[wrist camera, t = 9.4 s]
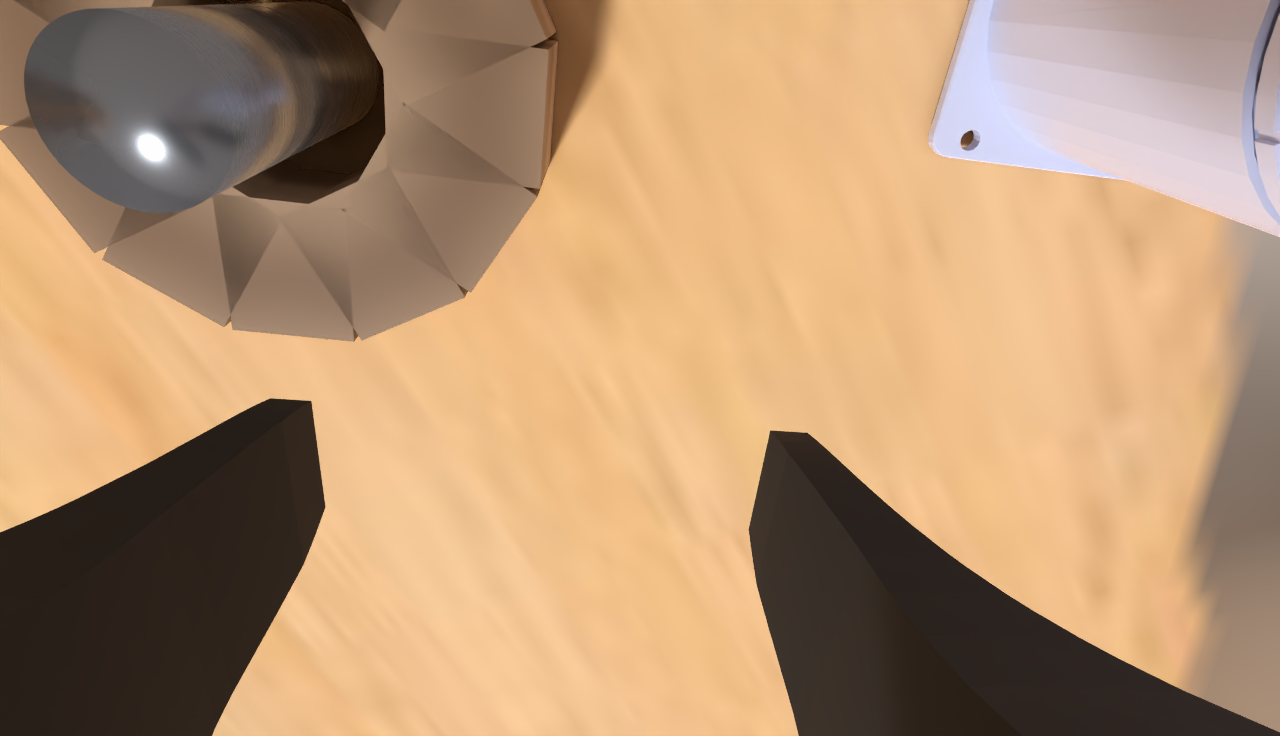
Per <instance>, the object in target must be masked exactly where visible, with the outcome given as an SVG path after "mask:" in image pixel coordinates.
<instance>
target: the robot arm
mask: <svg viewBox="0 0 1280 736" xmlns="http://www.w3.org/2000/svg"><path fill="white" fill-rule="evenodd" d="M971 130H972V131H973V133H974V137H973V140H972V142H971V144H970V145H968V146H967V147H964V148H962V147H961V145H960V142H961V138H962V136H963V135H964V134H965V133H966V132H968V131H971ZM928 142H929V145H930V148H931V149H932V150H933V151H934V152H935V153H937V154H939V155H941V156H944V157H949V158H957V159H964V160H972V161H980V162H988V163H995V164H1003V165H1011V166H1019V167H1027V168H1034V169H1042V170H1050V171H1058V172H1065V173H1073V174H1081V175H1089V176H1096V177H1104V178H1112V179H1120V180H1127V181H1130V182H1133V183H1135V184H1138V185H1141V186H1143V187H1146V188H1149V189H1151V190H1154V191H1157V192H1159V193H1162V194H1165V195H1168V196H1170V197H1173V198H1176V199H1178V200H1181V201H1184V202H1186V203H1189V204H1192V205H1194V206H1197V207H1200V208H1203V209H1205V210H1208V211H1211V212H1213V213H1216V214H1219V215H1221V216H1224V217H1227V218H1230V219H1232V220H1235V221H1238V222H1240V223H1243V224H1246V225H1248V226H1251V227H1254V228H1256V229H1259V230H1262V231H1265V232H1267V233H1270V234H1273V235H1275V236H1278V237H1280V0H970V1H969V4H968V8H967V11H966V14H965V17H964V21H963V24H962V27H961V31H960V34H959V37H958V40H957V44H956V47H955V50H954V54H953V57H952V60H951V63H950V67H949V70H948V73H947V76H946V80H945V83H944V86H943V90H942V93H941V96H940V99H939V103H938V106H937V109H936V112H935V116H934V119H933V122H932V126H931V129H930V132H929V138H928ZM324 509H325V501H324V494H323V486H322V478H321V471H320V463H319V456H318V448H317V441H316V433H315V426H314V418H313V411H312V403H311V401H301V400H286V399H268V400H266V401H264V402H261V403H259V404H257V405H255V406H253V407H251V408H249V409H247V410H245V411H243V412H241V413H239V414H238V415H236V416H234V417H232V418H230V419H228V420H227V421H225V422H223V423H221V424H219V425H217V426H216V427H214V428H212V429H210V430H208V431H207V432H205V433H203V434H201V435H199V436H197V437H196V438H194V439H192V440H190V441H188V442H186V443H185V444H183V445H181V446H179V447H177V448H175V449H174V450H172V451H170V452H168V453H166V454H164V455H163V456H161V457H159V458H157V459H155V460H153V461H152V462H150V463H148V464H146V465H144V466H142V467H140V468H138V469H136V470H134V471H132V472H130V473H128V474H126V475H124V476H122V477H120V478H118V479H116V480H114V481H112V482H110V483H108V484H106V485H104V486H102V487H100V488H98V489H96V490H94V491H92V492H90V493H88V494H86V495H84V496H82V497H80V498H78V499H76V500H74V501H72V502H69V503H67V504H65V505H63V506H61V507H59V508H57V509H54V510H52V511H50V512H48V513H45V514H43V515H41V516H38V517H36V518H34V519H32V520H29V521H27V522H25V523H22V524H20V525H17V526H15V527H13V528H10V529H8V530H5V531H3V532H0V736H212V734H213V732H214V729H215V727H216V725H217V723H218V721H219V719H220V717H221V715H222V713H223V711H224V709H225V707H226V705H227V703H228V701H229V699H230V697H231V695H232V693H233V691H234V689H235V688H236V686H237V684H238V682H239V680H240V679H241V677H242V675H243V673H244V671H245V670H246V668H247V666H248V664H249V663H250V661H251V659H252V657H253V655H254V654H255V652H256V650H257V648H258V646H259V645H260V643H261V641H262V639H263V637H264V636H265V634H266V632H267V630H268V628H269V627H270V625H271V623H272V621H273V619H274V618H275V616H276V614H277V612H278V610H279V609H280V607H281V605H282V603H283V601H284V600H285V598H286V596H287V594H288V592H289V590H290V589H291V587H292V585H293V583H294V581H295V579H296V578H297V576H298V574H299V572H300V570H301V568H302V566H303V564H304V562H305V559H306V557H307V554H308V552H309V549H310V547H311V544H312V542H313V539H314V537H315V534H316V531H317V529H318V526H319V523H320V520H321V518H322V515H323V512H324ZM749 534H750V542H751V549H752V557H753V563H754V570H755V576H756V582H757V587H758V591H759V594H760V598H761V602H762V605H763V609H764V612H765V616H766V620H767V623H768V627H769V630H770V634H771V637H772V640H773V644H774V647H775V651H776V654H777V658H778V661H779V665H780V668H781V672H782V675H783V678H784V682H785V685H786V689H787V692H788V696H789V699H790V703H791V706H792V710H793V713H794V717H795V722H796V726H797V730H798V734H799V736H1280V732H1277V731H1275V730H1273V729H1270V728H1268V727H1266V726H1264V725H1261V724H1259V723H1257V722H1254V721H1252V720H1250V719H1247V718H1245V717H1243V716H1241V715H1238V714H1236V713H1234V712H1231V711H1229V710H1227V709H1224V708H1222V707H1220V706H1217V705H1215V704H1213V703H1210V702H1208V701H1206V700H1204V699H1201V698H1199V697H1197V696H1194V695H1192V694H1190V693H1187V692H1185V691H1183V690H1181V689H1179V688H1177V687H1175V686H1173V685H1170V684H1168V683H1166V682H1164V681H1162V680H1160V679H1158V678H1156V677H1154V676H1152V675H1150V674H1148V673H1146V672H1144V671H1142V670H1140V669H1138V668H1136V667H1134V666H1132V665H1130V664H1128V663H1126V662H1124V661H1122V660H1120V659H1118V658H1116V657H1114V656H1112V655H1111V654H1109V653H1107V652H1105V651H1103V650H1101V649H1099V648H1097V647H1096V646H1094V645H1092V644H1090V643H1088V642H1086V641H1084V640H1083V639H1081V638H1079V637H1077V636H1075V635H1074V634H1072V633H1070V632H1069V631H1067V630H1065V629H1063V628H1062V627H1060V626H1058V625H1057V624H1055V623H1053V622H1051V621H1050V620H1048V619H1046V618H1044V617H1043V616H1041V615H1039V614H1038V613H1036V612H1034V611H1032V610H1031V609H1029V608H1028V607H1026V606H1024V605H1023V604H1021V603H1020V602H1018V601H1016V600H1015V599H1013V598H1012V597H1010V596H1008V595H1007V594H1005V593H1004V592H1002V591H1001V590H999V589H998V588H996V587H995V586H994V585H992V584H991V583H989V582H988V581H986V580H985V579H983V578H982V577H980V576H979V575H977V574H976V573H974V572H973V571H972V570H970V569H969V568H967V567H966V566H964V565H963V564H961V563H960V562H959V561H957V560H956V559H955V558H953V557H952V556H951V555H949V554H948V553H947V552H945V551H944V550H943V549H941V548H940V547H939V546H938V545H936V544H935V543H934V542H932V541H931V540H930V539H929V538H927V537H926V536H925V535H924V534H922V533H921V532H920V531H919V530H917V529H916V528H915V527H913V526H912V525H911V524H910V523H909V522H907V521H906V520H905V519H904V518H903V517H901V516H900V515H899V514H898V513H897V512H896V511H894V510H893V509H892V508H891V507H890V506H889V505H887V504H886V503H885V502H884V501H883V500H882V499H881V498H879V497H878V496H877V495H876V494H875V493H874V492H873V491H872V490H870V489H869V488H868V487H867V486H866V485H865V484H864V483H863V482H862V481H861V480H859V479H858V478H857V477H856V476H855V475H854V474H853V473H852V472H851V471H850V470H849V469H847V468H846V467H845V466H844V465H843V464H842V463H841V462H840V461H839V460H838V459H837V458H836V457H834V456H833V455H832V454H831V453H830V452H829V451H828V450H827V449H826V448H825V447H823V446H822V445H821V444H820V443H819V442H818V441H817V440H815V439H814V438H813V437H812V436H811V435H809V434H808V433H800V432H784V431H770V435H769V439H768V444H767V449H766V453H765V458H764V462H763V467H762V471H761V476H760V481H759V485H758V490H757V494H756V499H755V504H754V508H753V513H752V517H751V522H750V526H749Z"/></svg>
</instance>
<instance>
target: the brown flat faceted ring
mask: <svg viewBox="0 0 1280 736" xmlns="http://www.w3.org/2000/svg"><path fill="white" fill-rule="evenodd" d="M223 1H224V0H0V125H7V126H9V127H7V128H5V129H3V130H1V131H0V139H1V141H2V142H3V143H4V144H5V145H6V147H7V148H8V149H9V150H10V151H11V153H12V154H13V155H14V156H15V157H16V159H17V160H18V161H19V162H20V164H21V165H22V166H23V167H24V168H25V170H26V171H27V172H28V173H29V174H30V176H31V177H32V178H33V179H34V180H35V182H36V183H37V184H38V185H39V187H40V188H41V189H42V190H43V191H44V193H45V194H46V195H47V196H48V197H49V199H50V200H51V201H52V202H53V204H54V205H55V206H56V207H57V208H58V210H59V211H60V212H61V213H62V214H63V216H64V217H65V218H66V219H67V220H68V222H69V223H70V224H71V225H72V227H73V228H74V229H75V230H76V231H77V233H78V234H79V235H80V236H81V237H82V239H83V240H84V241H85V242H86V243H87V245H88V246H89V247H90V248H91V250H92V251H93V252H94V253H96V252H98V251H100V250H102V249H104V248H106V247H108V248H107V250H106V252H105V255H104V257H103V259H102V260H104V261H106V262H108V263H109V264H111V265H113V266H115V267H117V268H118V269H120V270H122V271H124V272H126V273H127V274H129V275H131V276H133V277H135V278H136V279H138V280H140V281H142V282H144V283H145V284H147V285H149V286H151V287H153V288H154V289H156V290H158V291H160V292H162V293H163V294H165V295H167V296H169V297H171V298H173V299H174V300H176V301H178V302H180V303H182V304H183V305H185V306H187V307H189V308H191V309H192V310H194V311H196V312H198V313H200V314H201V315H203V316H205V317H207V318H209V319H210V320H212V321H214V322H216V323H218V324H219V325H221V326H223V327H225V326H226V325H227V324H228V323H229V322H230V321H231V323H232V329H233V330H240V331H250V332H261V333H271V334H281V335H292V336H302V337H312V338H322V339H333V340H343V341H353V342H354V341H355V339H356V338H357V337H358V336H359V337H360V339H361V340H364V339H367V338H369V337H371V336H374V335H376V334H378V333H381V332H383V331H386V330H388V329H390V328H393V327H395V326H398V325H400V324H402V323H405V322H407V321H409V320H412V319H414V318H417V317H419V316H421V315H424V314H426V313H429V312H431V311H433V310H436V309H438V308H440V307H443V306H445V305H448V304H450V303H452V302H455V301H457V300H460V299H462V298H464V297H465V296H466V294H467V292H468V291H469V292H472V290H473V289H474V287H475V286H476V284H477V283H478V281H479V280H480V279H481V277H482V276H483V274H484V273H485V271H486V270H487V269H488V267H489V266H490V264H491V263H492V261H493V260H494V258H495V257H496V256H497V254H498V253H499V251H500V250H501V248H502V247H503V245H504V244H505V243H506V241H507V240H508V238H509V237H510V235H511V234H512V233H513V231H514V230H515V228H516V227H517V225H518V224H519V222H520V221H521V220H522V218H523V217H524V215H525V214H526V212H527V211H528V210H529V208H530V207H531V205H532V204H533V202H534V201H535V199H536V198H537V196H538V193H539V191H540V188H541V185H542V183H543V180H544V177H545V174H546V172H547V168H548V166H549V163H550V155H551V141H552V126H553V111H554V96H555V81H556V67H557V52H558V41H556V40H549V39H548V38H549V37H550V36H552V35H553V34H554V33H556V32H557V31H556V29H555V27H554V24H553V22H552V20H551V17H550V15H549V13H548V10H547V8H546V6H545V3H544V1H543V0H342V1H343V2H345V3H346V4H347V5H348V6H349V8H350V9H351V11H352V13H353V15H354V17H355V19H356V20H357V22H358V24H359V26H360V28H361V30H362V31H363V33H364V35H365V37H366V39H367V40H368V42H369V44H370V46H371V48H372V50H373V51H374V53H375V55H376V57H377V59H378V61H379V62H380V64H381V66H382V68H383V74H384V101H385V128H386V134H385V135H384V137H383V139H382V141H381V142H380V144H379V146H378V148H377V149H376V151H375V153H374V155H373V156H372V158H371V160H370V161H369V163H368V165H367V167H366V168H364V169H362V170H360V171H357V172H355V173H353V174H351V175H349V174H340V173H332V172H323V171H315V170H306V169H299V168H298V167H296V166H294V165H293V164H291V163H290V162H288V161H287V160H283V161H281V162H279V163H277V164H276V165H274V166H272V167H270V168H268V169H266V170H264V171H262V172H260V173H258V174H256V175H254V176H252V177H250V178H248V179H247V180H245V181H243V182H241V183H239V184H237V185H235V186H233V187H231V188H229V189H227V190H225V191H223V192H221V193H220V194H218V195H216V196H214V197H212V198H210V199H208V200H206V201H204V202H202V203H200V204H198V205H196V206H194V207H192V208H189V209H186V210H183V211H178V212H171V213H151V212H143V211H138V210H133V209H130V208H127V207H124V206H121V205H118V204H116V203H113V202H111V201H109V200H107V199H105V198H103V197H101V196H100V195H98V194H96V193H94V192H93V191H91V190H90V189H88V188H87V187H85V186H84V185H83V184H81V183H80V182H79V181H78V180H76V179H75V178H74V177H73V176H72V175H71V174H69V173H68V171H67V170H66V169H65V168H64V167H63V166H62V165H61V164H60V163H59V162H58V161H57V160H56V158H55V157H54V156H53V155H52V154H51V152H50V151H49V149H48V148H47V146H46V145H45V143H44V142H43V140H42V139H41V137H40V135H39V133H38V131H37V129H36V127H35V125H34V123H33V120H32V118H31V115H30V113H29V109H28V105H27V102H26V97H25V89H24V70H25V63H26V59H27V56H28V53H29V50H30V47H31V46H32V44H33V42H34V40H35V38H36V37H37V36H38V34H39V33H40V32H41V31H42V30H43V28H45V27H46V26H47V25H48V24H49V23H51V22H52V21H53V20H55V19H57V18H59V17H60V16H62V15H65V14H68V13H70V12H73V11H78V10H83V9H94V8H125V7H156V6H186V5H217V4H222V3H223Z"/></svg>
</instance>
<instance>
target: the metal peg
mask: <svg viewBox="0 0 1280 736" xmlns="http://www.w3.org/2000/svg"><path fill="white" fill-rule="evenodd" d="M378 88H379V69H378V63H377V59H376V56H375V53H374V51H373V50H372V48H371V46H370V44H369V42H368V40H367V39H366V37H365V35H364V33H363V32H362V31H361V29H360V28H359V27H358V26H357V25H356V24H355V23H354V22H353V21H352V20H351V19H350V18H348V17H347V16H346V15H344V14H343V13H341V12H340V11H338V10H336V9H334V8H332V7H329V6H327V5H324V4H320V3H316V2H279V3H248V4H217V5H186V6H156V7H125V8H94V9H83V10H78V11H73V12H70V13H68V14H65V15H62V16H60V17H59V18H57V19H55V20H53V21H52V22H51V23H49V24H48V25H47V26H46V27H45V28H43V30H42V31H41V32H40V33H39V34H38V36H37V37H36V38H35V40H34V42H33V44H32V46H31V47H30V50H29V53H28V56H27V59H26V63H25V70H24V89H25V97H26V102H27V105H28V109H29V113H30V115H31V118H32V120H33V123H34V125H35V127H36V129H37V131H38V133H39V135H40V137H41V139H42V140H43V142H44V143H45V145H46V146H47V148H48V149H49V151H50V152H51V154H52V155H53V156H54V157H55V158H56V160H57V161H58V162H59V163H60V164H61V165H62V166H63V167H64V168H65V169H66V170H67V171H68V173H69V174H71V175H72V176H73V177H74V178H75V179H76V180H78V181H79V182H80V183H81V184H83V185H84V186H85V187H87V188H88V189H90V190H91V191H93V192H94V193H96V194H98V195H100V196H101V197H103V198H105V199H107V200H109V201H111V202H113V203H116V204H118V205H121V206H124V207H127V208H130V209H133V210H138V211H143V212H151V213H171V212H178V211H183V210H186V209H189V208H192V207H194V206H196V205H198V204H200V203H202V202H204V201H206V200H208V199H210V198H212V197H214V196H216V195H218V194H220V193H221V192H223V191H225V190H227V189H229V188H231V187H233V186H235V185H237V184H239V183H241V182H243V181H245V180H247V179H248V178H250V177H252V176H254V175H256V174H258V173H260V172H262V171H264V170H266V169H268V168H270V167H272V166H274V165H276V164H277V163H279V162H281V161H283V160H285V159H287V158H289V157H291V156H293V155H295V154H297V153H299V152H301V151H303V150H305V149H306V148H308V147H310V146H312V145H314V144H316V143H318V142H320V141H322V140H324V139H326V138H328V137H330V136H332V135H334V134H335V133H337V132H339V131H341V130H343V129H345V128H347V127H349V126H351V125H353V124H355V123H356V122H358V121H359V120H361V119H362V118H363V117H364V116H365V115H366V114H367V113H368V112H369V110H370V109H371V107H372V106H373V104H374V102H375V99H376V97H377V93H378Z"/></svg>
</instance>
